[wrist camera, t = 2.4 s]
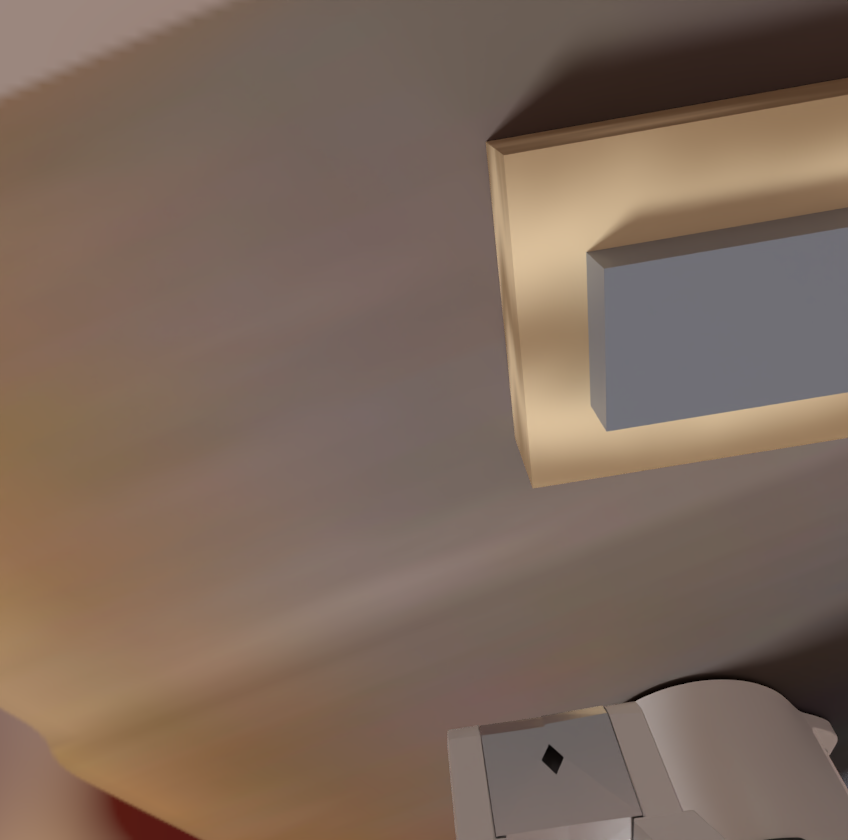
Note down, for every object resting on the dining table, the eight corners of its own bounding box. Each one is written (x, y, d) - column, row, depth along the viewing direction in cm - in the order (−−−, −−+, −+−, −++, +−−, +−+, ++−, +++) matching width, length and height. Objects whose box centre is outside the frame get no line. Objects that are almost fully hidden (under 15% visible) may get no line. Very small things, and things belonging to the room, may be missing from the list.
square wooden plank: (857, 382, 29) (921, 425, 26) (515, 438, 30) (532, 488, 26) (923, 64, 23) (1021, 64, 19) (485, 141, 23) (503, 155, 20)
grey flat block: (824, 367, 24) (858, 390, 22) (590, 405, 24) (606, 431, 23) (852, 206, 21) (894, 219, 19) (586, 252, 21) (604, 269, 20)
